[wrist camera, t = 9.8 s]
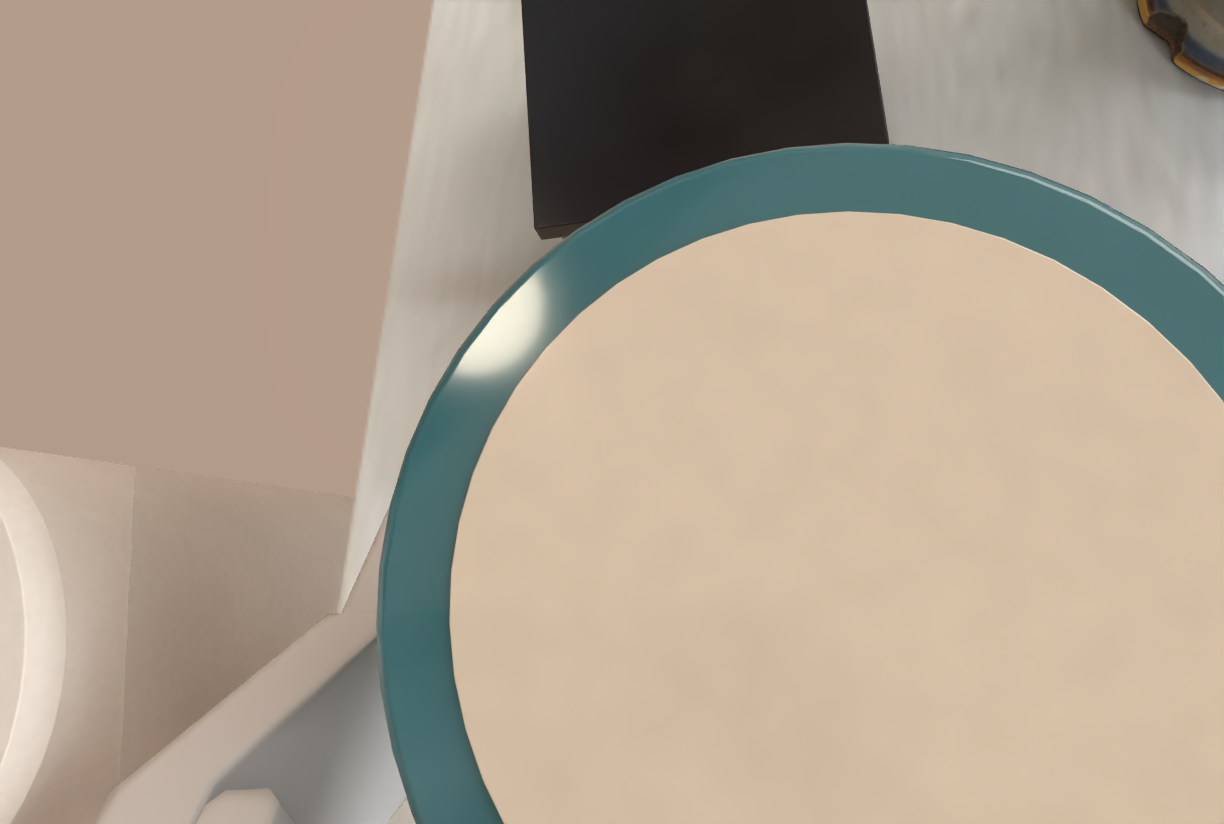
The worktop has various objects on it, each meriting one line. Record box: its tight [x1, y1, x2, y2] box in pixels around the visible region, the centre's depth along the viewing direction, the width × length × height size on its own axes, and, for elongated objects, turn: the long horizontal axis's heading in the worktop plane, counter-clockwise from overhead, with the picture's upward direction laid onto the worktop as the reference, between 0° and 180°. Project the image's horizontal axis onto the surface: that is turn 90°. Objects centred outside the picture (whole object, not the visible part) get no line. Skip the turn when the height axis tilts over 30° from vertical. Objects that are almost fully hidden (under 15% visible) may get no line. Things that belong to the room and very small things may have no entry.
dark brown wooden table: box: [521, 0, 890, 240], centre depth 30 cm, size 12×12×8 cm
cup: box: [376, 143, 1224, 824], centre depth 8 cm, size 5×5×9 cm
